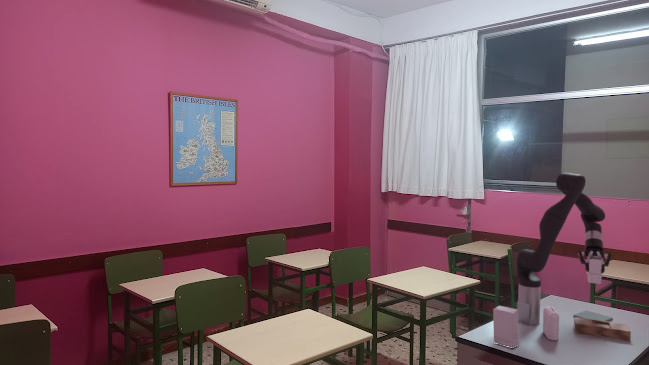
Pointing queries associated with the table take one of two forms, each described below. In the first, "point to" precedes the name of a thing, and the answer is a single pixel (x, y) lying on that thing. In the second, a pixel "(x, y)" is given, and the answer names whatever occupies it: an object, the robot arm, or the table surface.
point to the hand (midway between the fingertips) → (595, 271)
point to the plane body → (602, 328)
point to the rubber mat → (593, 316)
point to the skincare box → (506, 326)
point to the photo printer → (551, 323)
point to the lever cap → (595, 269)
